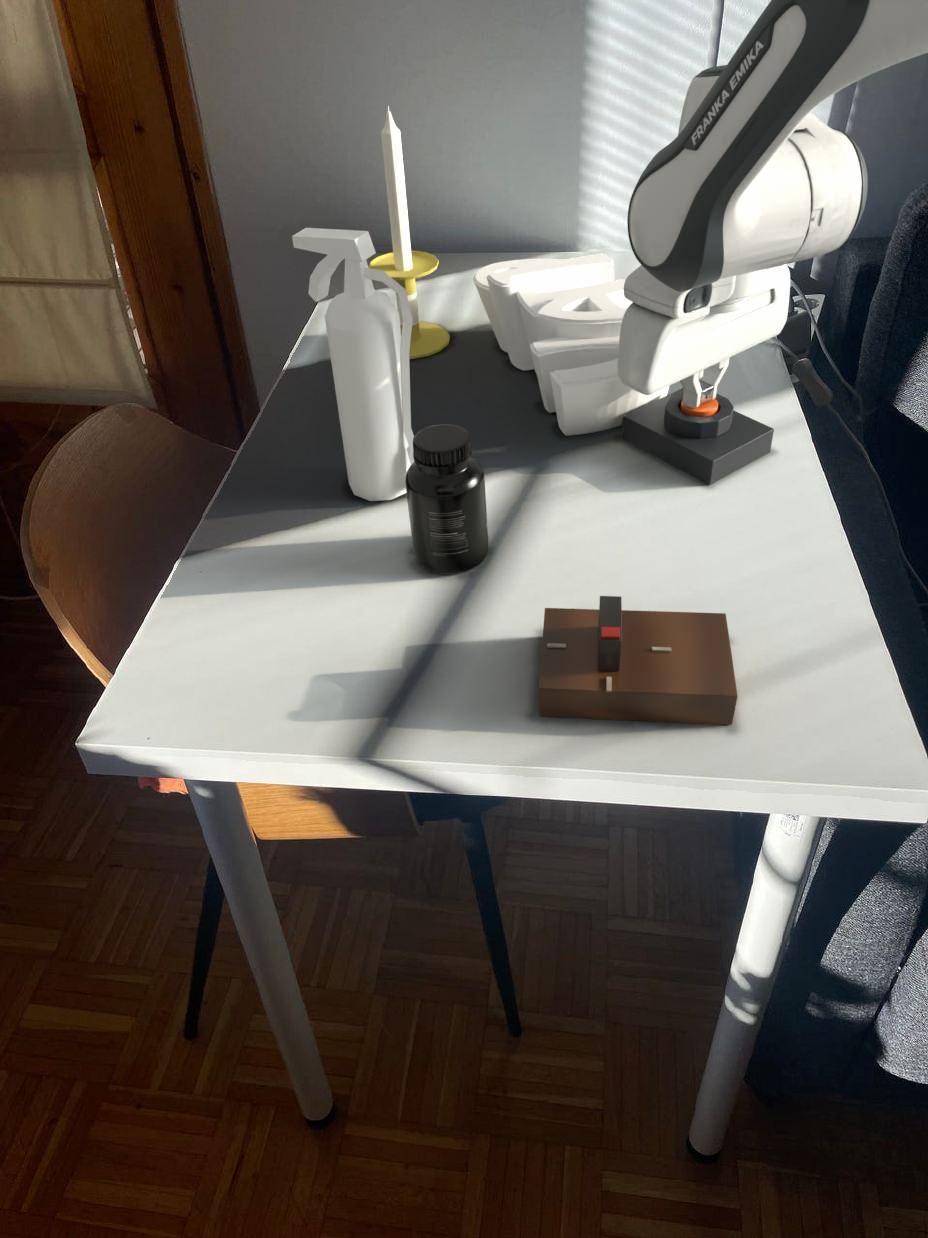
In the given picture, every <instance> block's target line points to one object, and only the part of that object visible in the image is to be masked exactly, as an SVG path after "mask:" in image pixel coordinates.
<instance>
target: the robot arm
mask: <svg viewBox="0 0 928 1238" xmlns="http://www.w3.org/2000/svg"><path fill="white" fill-rule="evenodd" d="M927 53H928V0H770V1H769V3H768V4H767V5H766V7H765V9H764V10H763V11H762V13H761V14H760V16H758V18H757V20H756V21H755V22H754V24H753V26H752V27H751V29H749V31H748V33H747V34H746V36H745V37H744V39H743V40H742V42H741V43H740V45H739V46H738V48H737V49H736V51H735V52H734V54H733V55H732V56H731V58H730V60H729V61H728V63H726V64H722V65H716V66H712V67H711V66H710V67H708V68H706V69H705V68H704V70H701V71H700V72H699V73H697V74H696V75H694V77H692V79H691V81H690V83H689V86H688V88H687V91H686V94H685V98H684V103H683V105H682V110H681V115H680V120H679V126H678V131H677V132H678V133H677V136H676V137H675V138H674V140H672V141H671V142H670V143H668V144H667V145H666V146H665V147H663V148H661V150H659V151H658V152H656V154H655V155H654V156H653V157H652V159H651V160H650V161H649V162H648V164H647V165H646V167H645V168H644V170H643V172H642V173H641V174H640V176H639V178H638V180H637V182H636V183H635V187H634V189H633V191H632V194H631V196H630V199H629V204H628V210H627V224H626V225H627V235H628V240H629V244H630V248H631V250H632V253H633V255H634V257H635V259H636V260H637V261H638V263H639V264H640V265H639V266H638V267H637V268H635V269H634V270H633V271H631V272H630V274H629V275H628V276H627V277H626V278H625V283H624V297H625V298H626V299H628V300H630V301H632V303H631V304H630V305H629V307H628V308H627V310H626V311H625V314H624V316H623V319H622V323H621V329H620V338H619V349H618V376H619V378H620V379H621V381H622V382H623V384H624V385H626V386H627V387H629V388H631V389H633V390H635V391H637V392H640V393H642V394H644V395H651V394H653V393H655V392H657V391H659V390H661V389H663V388H665V387H668V386H669V387H670V386H671V385H674V384H676V383H678V382H679V383H680V384H681V387H682V388H684V392H683V403H684V404H685V405H686V406H688V407H690V408H692V409H695V408H697V407H699V406H701V405H703V404H705V403H707V402H709V401H711V400H713V399H715V398H716V394H717V392H718V385H719V384H720V382H721V380H722V378H723V376H724V374H725V373H726V371H727V369H728V367H729V364H730V358H731V357H733V356H736V355H738V354H741V353H742V352H744V351H747V350H748V349H751V348H753V347H755V346H757V345H759V344H762V343H763V342H766V341H768V340H770V339H772V338H774V337H777V336H778V335H780V334H781V332H782V331H783V329H784V327H785V325H786V323H787V320H788V313H789V306H790V305H789V304H790V293H791V292H790V291H791V272H790V269H789V267H788V264H792V263H793V264H794V263H797V262H803V261H806V260H807V261H808V260H811V259H815V258H819V257H821V256H824V255H826V254H830V253H833V252H835V251H838V250H839V249H841V248H842V247H843V246H844V245H845V244H846V243H848V241H849V240H850V239H851V237H852V236H853V235H854V233H855V232H856V230H857V228H858V225H859V224H860V221H861V220H862V217H863V214H864V211H865V208H866V203H867V197H868V187H869V185H868V184H869V182H868V181H869V179H868V169H867V165H866V160H865V158H864V155H863V153H862V151H861V148H860V147H859V146H858V145H857V144H856V142H855V141H854V140H853V138H851V137H850V135H848V134H847V133H846V132H844V131H843V130H840V129H838V128H832V127H830V126H828V125H827V124H826V123H825V122H824V121H822V120H821V119H819V117H818V116H816V115H815V114H814V113H813V111H814V110H815V109H816V108H818V106H820V104H822V103H823V102H825V101H826V100H828V99H829V98H831V97H832V96H833V95H836V94H837V93H838V92H840V91H841V90H843V89H846V88H847V87H849V86H851V85H852V84H854V83H857V82H858V81H860V80H862V79H864V78H866V77H869V76H871V75H873V74H876V73H878V72H880V71H882V70H885V69H888V68H890V67H892V66H895V65H898V64H900V63H903V62H905V61H908V60H911V59H914V58H916V57H919V56H922V55H924V54H927Z"/></svg>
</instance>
